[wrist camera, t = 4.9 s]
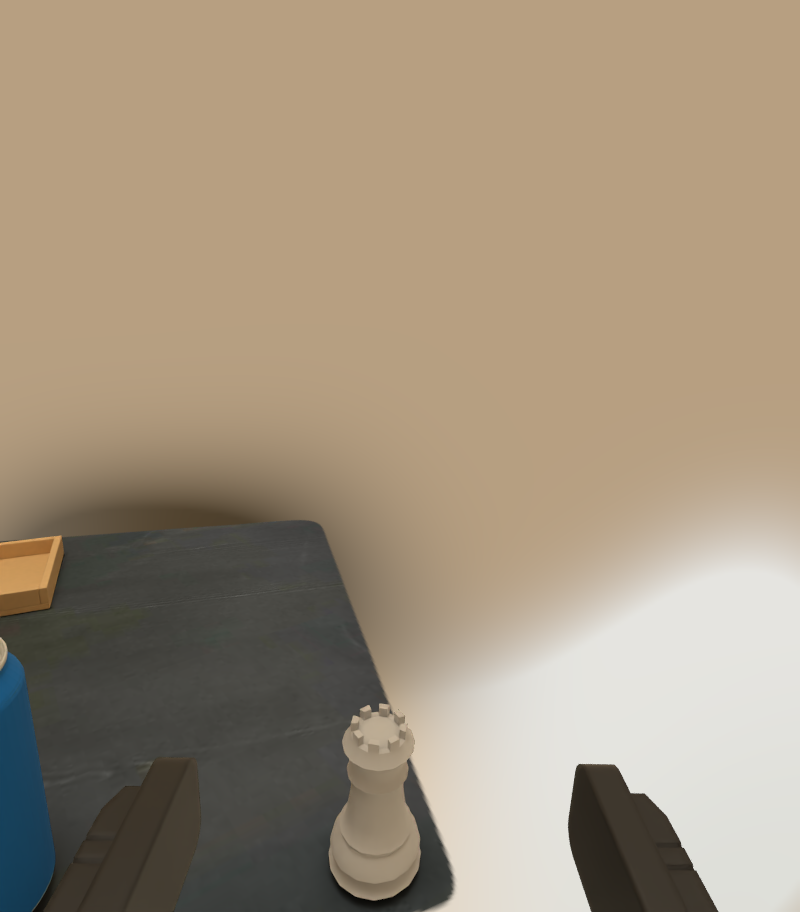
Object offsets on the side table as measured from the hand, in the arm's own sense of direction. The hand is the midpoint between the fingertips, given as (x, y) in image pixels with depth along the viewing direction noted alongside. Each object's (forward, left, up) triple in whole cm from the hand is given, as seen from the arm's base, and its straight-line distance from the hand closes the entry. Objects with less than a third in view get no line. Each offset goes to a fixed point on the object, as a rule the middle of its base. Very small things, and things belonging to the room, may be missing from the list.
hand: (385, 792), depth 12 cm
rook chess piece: (+5, +10, -16) cm, 20 cm away
